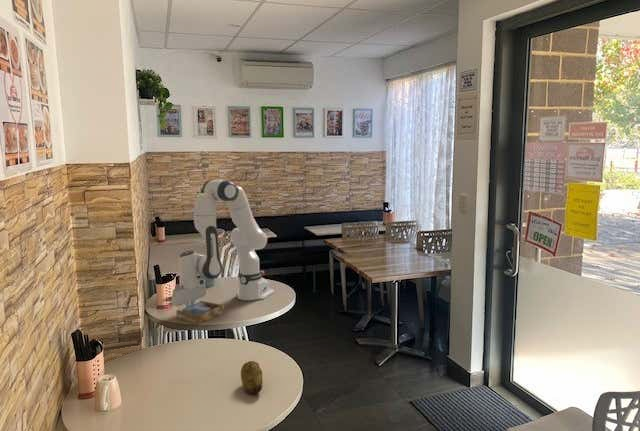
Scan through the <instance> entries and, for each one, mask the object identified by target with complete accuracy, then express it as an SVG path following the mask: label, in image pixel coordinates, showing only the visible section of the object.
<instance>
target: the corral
mask: <svg viewBox="0 0 640 431" xmlns="http://www.w3.org/2000/svg"><path fill="white" fill-rule="evenodd" d="M199 302H200V303H205V307H207V308H211V310H210V311H208V312H206V313H203V314H201V315H197V314H193V313H188V312H184V311H182V310H179V309H178V310H176V318H177V319H180V320H184V321H187V322H188V321H189V322H192V323H197V324H202V323H204V322H206V321H209V320H211V319H213V318H215V317H217V316H219V315H221V314H224V313H225V305H223V304H219V303H213V302H209V301H204V300H200V301H199Z"/></svg>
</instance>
